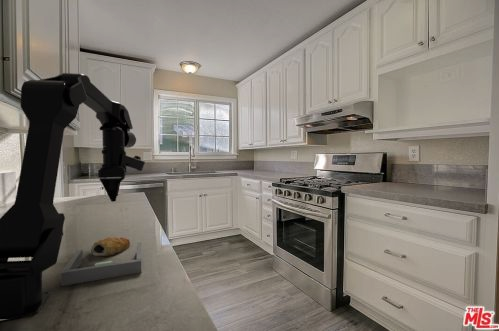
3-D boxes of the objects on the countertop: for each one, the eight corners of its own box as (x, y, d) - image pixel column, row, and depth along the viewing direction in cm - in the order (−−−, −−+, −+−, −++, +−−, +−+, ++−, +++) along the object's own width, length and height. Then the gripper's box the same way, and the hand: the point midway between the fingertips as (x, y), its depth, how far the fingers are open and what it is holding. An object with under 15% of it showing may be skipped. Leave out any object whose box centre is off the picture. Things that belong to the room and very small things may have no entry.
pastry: (118, 244, 69) (118, 231, 69) (136, 246, 67) (136, 233, 67) (87, 255, 61) (87, 241, 60) (107, 259, 58) (108, 243, 58)
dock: (141, 272, 51) (141, 257, 51) (60, 286, 45) (60, 269, 45) (141, 251, 63) (141, 240, 63) (77, 260, 57) (77, 247, 57)
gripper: (144, 146, 66) (145, 202, 67) (142, 148, 83) (142, 192, 83) (97, 145, 61) (98, 205, 62) (105, 147, 78) (106, 194, 78)
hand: (114, 198), depth 71 cm, fingers open, 9 cm apart
